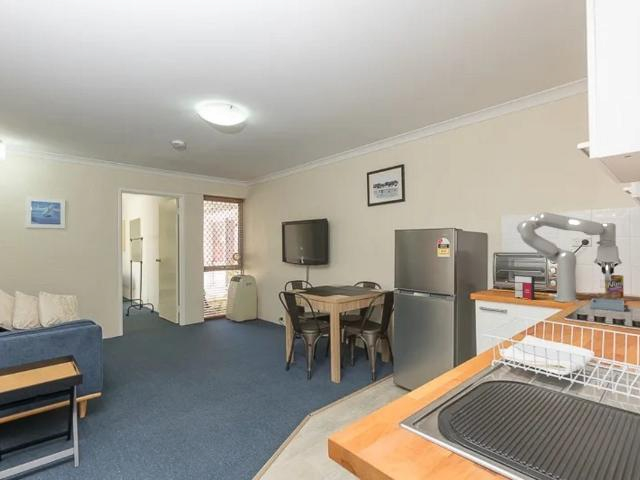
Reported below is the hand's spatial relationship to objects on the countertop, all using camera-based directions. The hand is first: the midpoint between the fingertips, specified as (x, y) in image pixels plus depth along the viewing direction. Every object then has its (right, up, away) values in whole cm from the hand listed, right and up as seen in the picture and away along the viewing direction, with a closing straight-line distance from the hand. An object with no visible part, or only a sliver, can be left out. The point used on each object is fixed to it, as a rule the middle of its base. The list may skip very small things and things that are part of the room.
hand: (607, 273), depth 208 cm
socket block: (0, -18, 0) cm, 18 cm away
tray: (-13, -17, -15) cm, 27 cm away
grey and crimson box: (-40, -18, +18) cm, 47 cm away
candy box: (+18, -18, +16) cm, 30 cm away
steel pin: (0, -5, 0) cm, 5 cm away
